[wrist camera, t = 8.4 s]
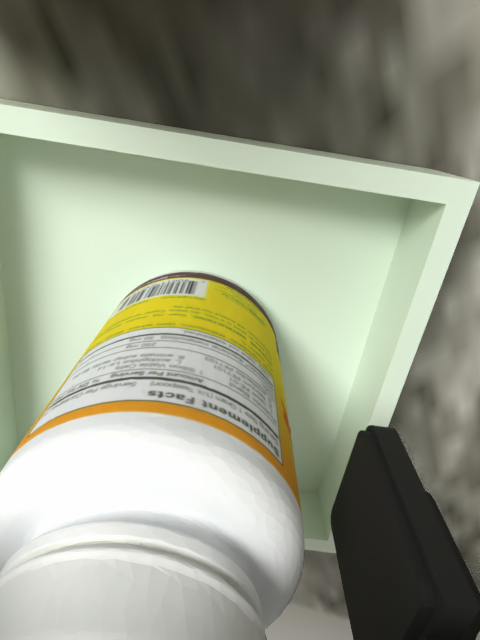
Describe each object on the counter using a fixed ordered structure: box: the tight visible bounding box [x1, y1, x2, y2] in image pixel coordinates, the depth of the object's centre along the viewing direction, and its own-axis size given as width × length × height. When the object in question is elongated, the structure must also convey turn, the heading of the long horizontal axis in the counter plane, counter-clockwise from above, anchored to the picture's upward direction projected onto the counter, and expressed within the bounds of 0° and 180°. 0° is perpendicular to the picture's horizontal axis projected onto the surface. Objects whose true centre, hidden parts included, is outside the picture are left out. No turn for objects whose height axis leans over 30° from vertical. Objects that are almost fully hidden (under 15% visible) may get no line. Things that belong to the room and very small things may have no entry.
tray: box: [0, 99, 480, 553], centre depth 14 cm, size 13×13×3 cm
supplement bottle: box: [0, 270, 305, 640], centre depth 10 cm, size 6×6×10 cm
